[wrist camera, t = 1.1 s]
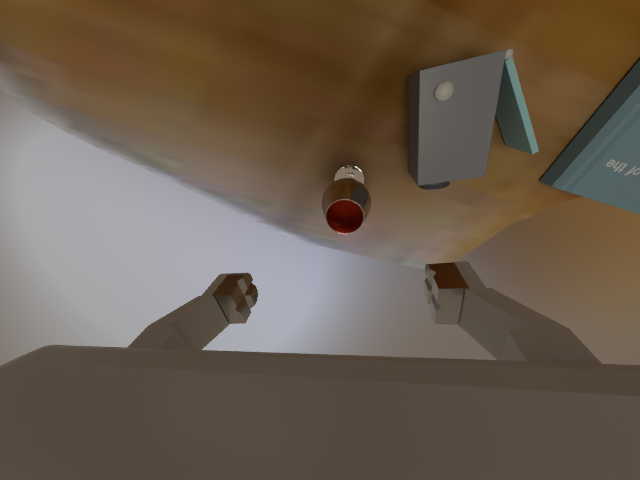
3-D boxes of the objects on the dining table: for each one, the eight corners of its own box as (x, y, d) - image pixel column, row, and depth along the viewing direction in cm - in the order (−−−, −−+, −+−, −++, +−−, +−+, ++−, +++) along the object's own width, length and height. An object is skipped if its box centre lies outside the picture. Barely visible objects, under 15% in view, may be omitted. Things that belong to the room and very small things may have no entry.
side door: (475, 61, 35) (503, 52, 29) (490, 51, 35) (521, 40, 28) (504, 145, 41) (533, 155, 34) (517, 138, 40) (549, 146, 33)
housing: (407, 76, 38) (421, 70, 30) (475, 59, 36) (509, 48, 27) (408, 181, 47) (418, 199, 39) (461, 174, 45) (484, 191, 37)
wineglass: (362, 201, 51) (363, 245, 36) (326, 193, 51) (313, 234, 36) (373, 165, 46) (380, 198, 31) (334, 156, 46) (322, 185, 31)
